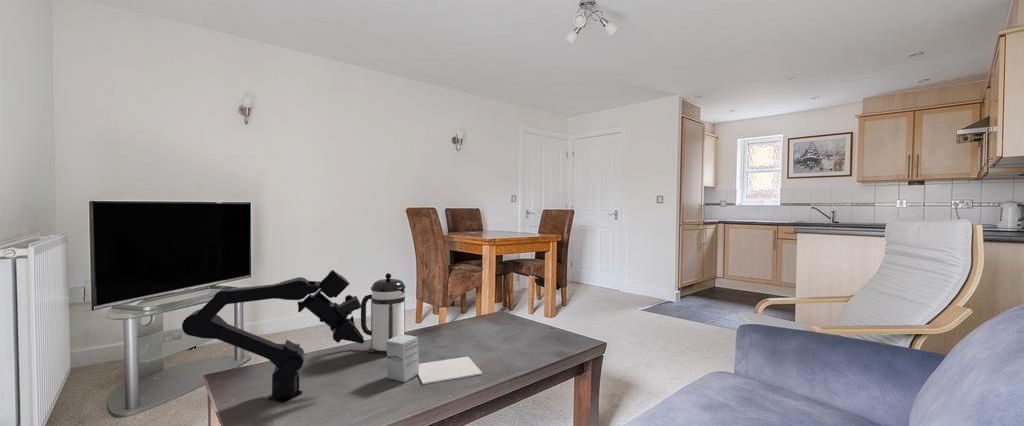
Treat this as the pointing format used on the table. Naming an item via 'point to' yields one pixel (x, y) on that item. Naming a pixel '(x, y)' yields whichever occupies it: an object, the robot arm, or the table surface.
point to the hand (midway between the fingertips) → (363, 340)
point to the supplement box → (402, 357)
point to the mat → (447, 370)
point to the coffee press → (385, 312)
